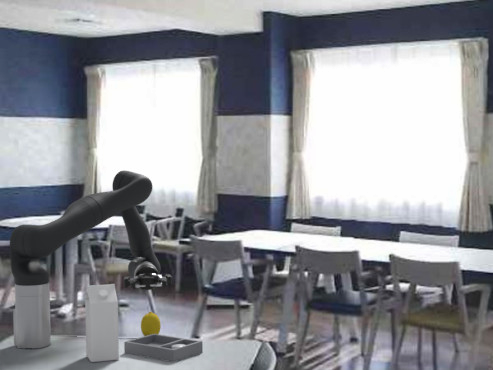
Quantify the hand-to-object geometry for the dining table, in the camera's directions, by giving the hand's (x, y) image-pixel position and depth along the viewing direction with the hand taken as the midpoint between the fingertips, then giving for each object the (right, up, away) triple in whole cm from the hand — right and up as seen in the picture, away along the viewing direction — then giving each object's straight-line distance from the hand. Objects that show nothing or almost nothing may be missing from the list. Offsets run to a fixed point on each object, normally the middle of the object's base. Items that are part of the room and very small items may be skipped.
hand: (149, 284), depth 244 cm
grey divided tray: (+7, -15, -25) cm, 30 cm away
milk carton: (-9, -16, -30) cm, 35 cm away
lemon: (+2, -15, -10) cm, 18 cm away
